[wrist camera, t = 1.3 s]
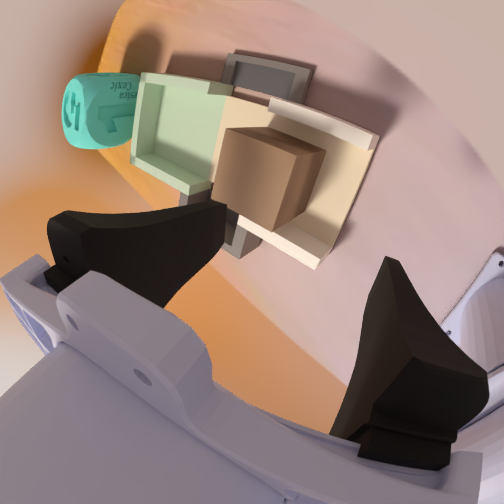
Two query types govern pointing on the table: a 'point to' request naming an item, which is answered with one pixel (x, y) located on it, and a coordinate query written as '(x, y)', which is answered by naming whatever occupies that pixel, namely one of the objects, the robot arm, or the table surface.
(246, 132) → the walnut cube
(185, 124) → the tray
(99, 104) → the decorative dice
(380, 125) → the table surface
